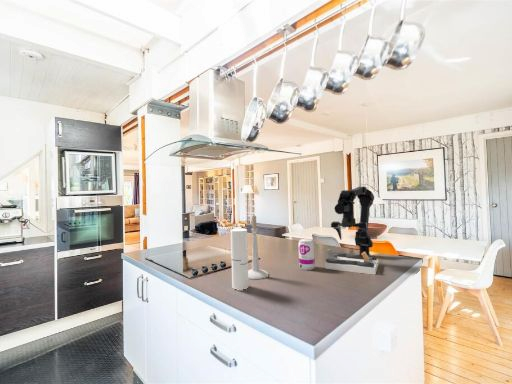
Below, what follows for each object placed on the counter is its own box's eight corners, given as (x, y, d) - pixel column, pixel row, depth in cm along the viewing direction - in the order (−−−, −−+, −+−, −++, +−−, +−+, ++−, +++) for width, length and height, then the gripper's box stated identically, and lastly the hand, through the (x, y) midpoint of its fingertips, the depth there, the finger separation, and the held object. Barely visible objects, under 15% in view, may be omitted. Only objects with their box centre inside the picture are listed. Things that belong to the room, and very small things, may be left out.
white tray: (333, 260, 152) (333, 251, 152) (378, 265, 140) (378, 255, 140) (325, 268, 137) (325, 259, 137) (375, 274, 125) (374, 264, 125)
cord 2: (332, 255, 152) (332, 251, 152) (377, 259, 140) (376, 255, 140) (331, 256, 149) (331, 253, 149) (376, 260, 138) (376, 257, 138)
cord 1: (326, 261, 140) (326, 257, 140) (374, 266, 128) (374, 262, 128) (325, 262, 137) (325, 258, 137) (374, 268, 125) (373, 263, 125)
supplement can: (310, 271, 133) (310, 242, 133) (296, 268, 138) (295, 240, 138) (317, 267, 139) (316, 239, 139) (303, 265, 144) (302, 238, 144)
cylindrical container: (233, 284, 116) (231, 228, 116) (249, 284, 116) (247, 228, 116) (231, 290, 109) (229, 231, 109) (248, 290, 109) (246, 231, 109)
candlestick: (271, 272, 133) (269, 213, 133) (264, 280, 121) (262, 216, 121) (247, 270, 137) (246, 213, 137) (238, 278, 124) (237, 216, 124)
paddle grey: (333, 258, 145) (328, 249, 147) (335, 256, 145) (330, 248, 146) (331, 259, 142) (326, 251, 143) (333, 258, 141) (328, 250, 142)
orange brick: (367, 261, 137) (362, 252, 138) (370, 260, 136) (365, 251, 137) (366, 263, 133) (361, 254, 134) (369, 262, 132) (364, 253, 133)
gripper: (328, 213, 143) (329, 242, 143) (364, 214, 134) (365, 244, 135) (332, 211, 153) (333, 238, 153) (366, 212, 144) (367, 240, 144)
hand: (349, 240), depth 146 cm, fingers open, 9 cm apart
